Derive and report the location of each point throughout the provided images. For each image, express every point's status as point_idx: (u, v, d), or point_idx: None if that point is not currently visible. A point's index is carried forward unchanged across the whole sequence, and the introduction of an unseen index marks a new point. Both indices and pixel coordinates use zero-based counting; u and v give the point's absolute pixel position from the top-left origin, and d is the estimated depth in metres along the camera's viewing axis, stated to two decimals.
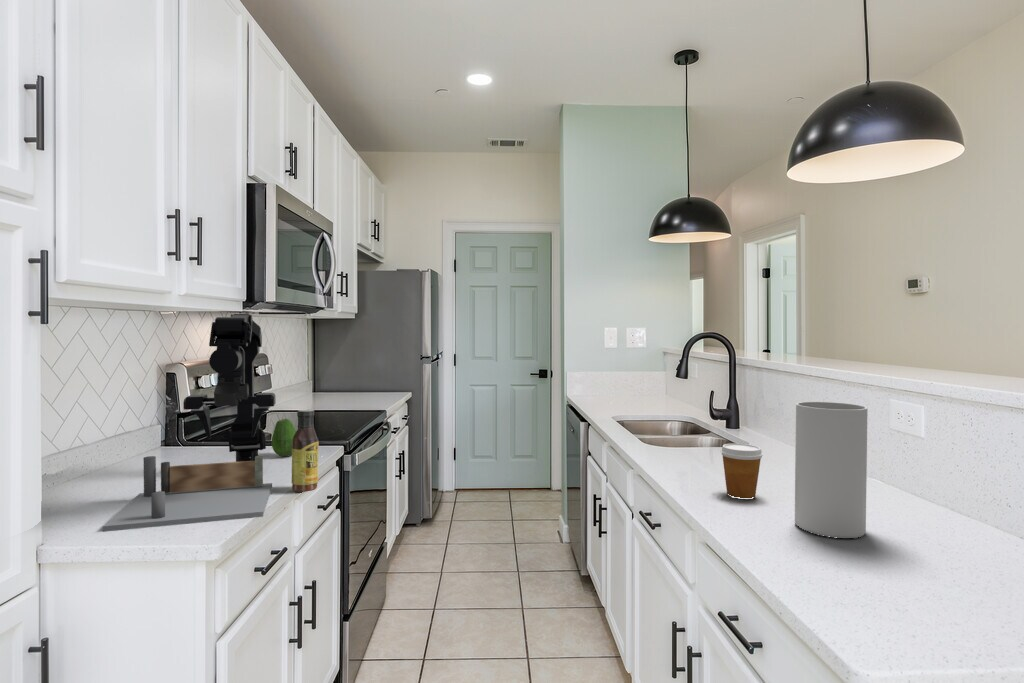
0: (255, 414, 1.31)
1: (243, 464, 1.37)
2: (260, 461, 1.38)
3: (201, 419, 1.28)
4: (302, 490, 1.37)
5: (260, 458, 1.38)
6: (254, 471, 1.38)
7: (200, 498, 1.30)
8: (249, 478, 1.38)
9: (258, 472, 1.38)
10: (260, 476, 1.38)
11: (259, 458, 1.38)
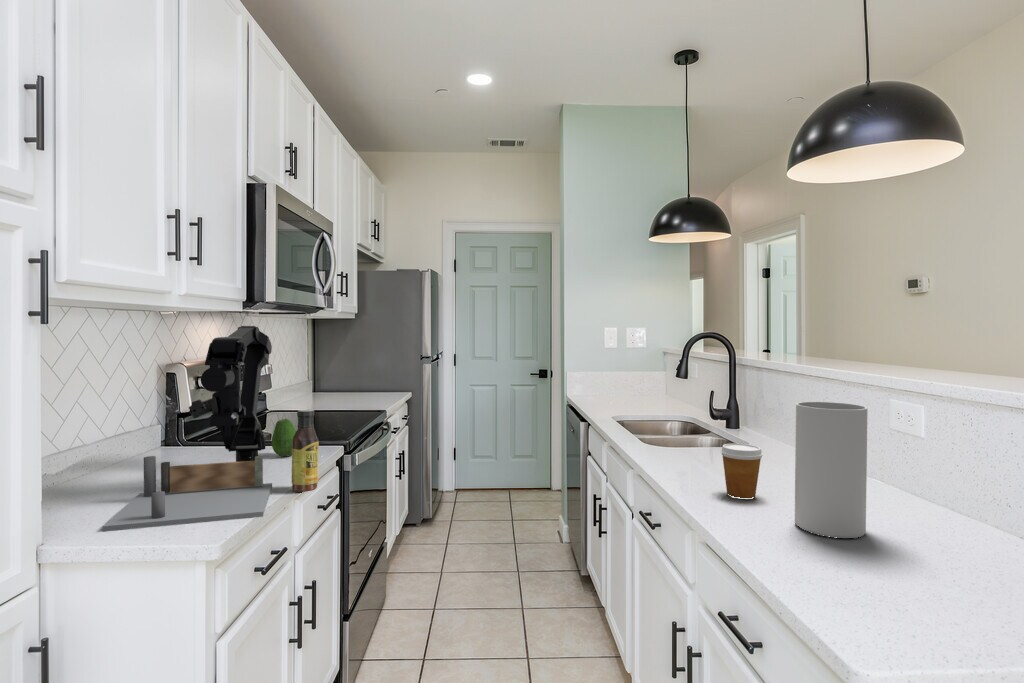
0: None
1: (243, 464, 1.37)
2: (260, 461, 1.38)
3: None
4: (302, 490, 1.37)
5: (260, 458, 1.38)
6: (254, 471, 1.38)
7: (200, 498, 1.30)
8: (249, 478, 1.38)
9: (258, 472, 1.38)
10: (260, 476, 1.38)
11: (259, 458, 1.38)
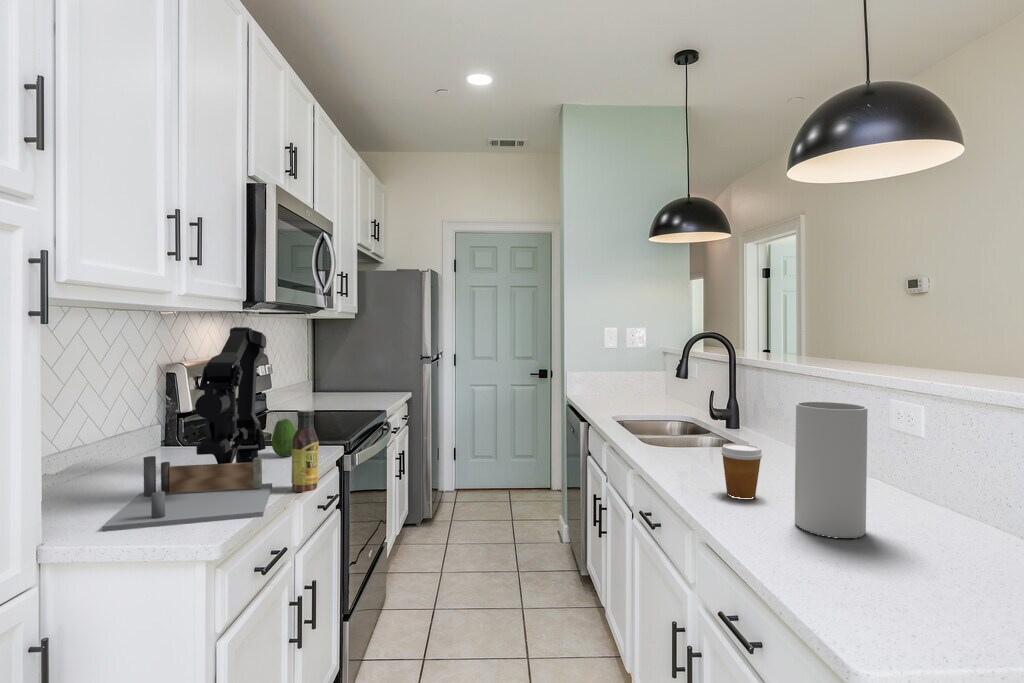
0: None
1: (242, 465, 1.36)
2: (258, 463, 1.36)
3: None
4: (302, 490, 1.37)
5: (258, 460, 1.36)
6: (252, 473, 1.36)
7: (200, 498, 1.30)
8: (248, 480, 1.36)
9: (256, 474, 1.36)
10: (258, 478, 1.36)
11: (258, 460, 1.36)
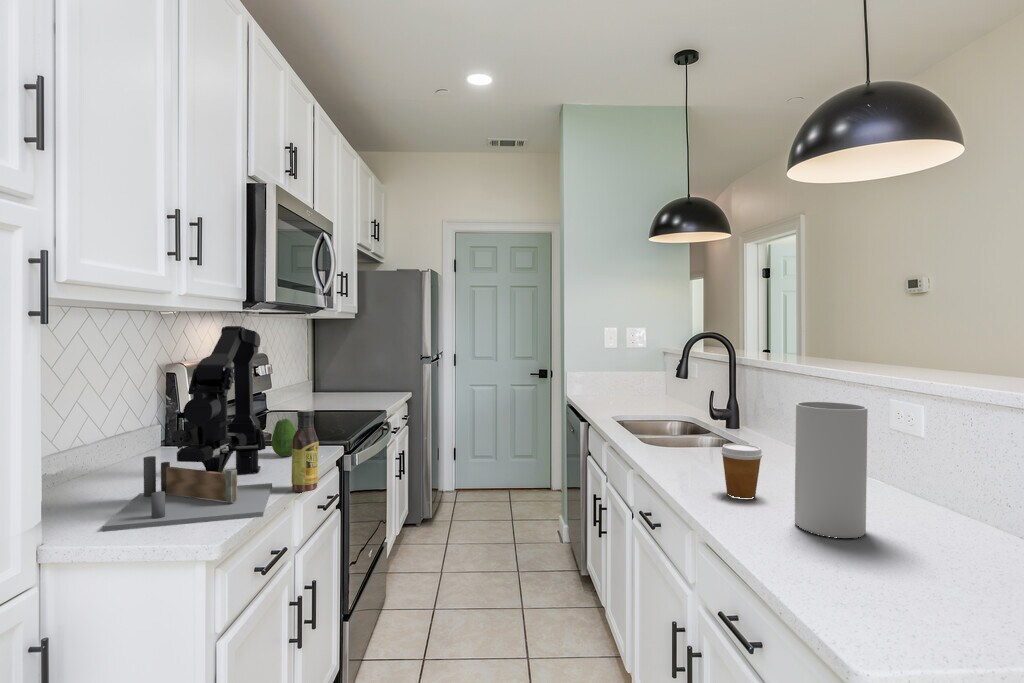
0: None
1: (217, 476, 1.26)
2: (229, 475, 1.25)
3: None
4: (302, 490, 1.37)
5: (229, 472, 1.25)
6: (225, 486, 1.25)
7: (200, 498, 1.30)
8: (222, 492, 1.26)
9: (228, 487, 1.25)
10: (229, 492, 1.25)
11: (229, 472, 1.25)
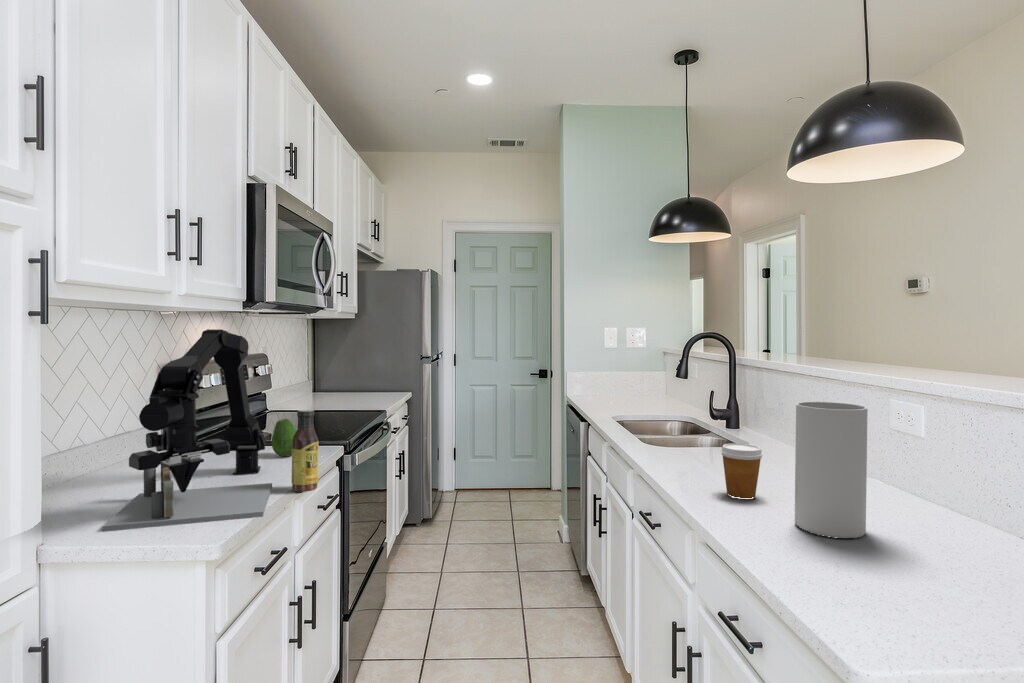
0: None
1: None
2: (164, 487, 1.15)
3: None
4: (302, 490, 1.37)
5: (164, 484, 1.15)
6: None
7: (200, 498, 1.30)
8: None
9: (164, 500, 1.15)
10: (164, 506, 1.15)
11: (164, 484, 1.15)
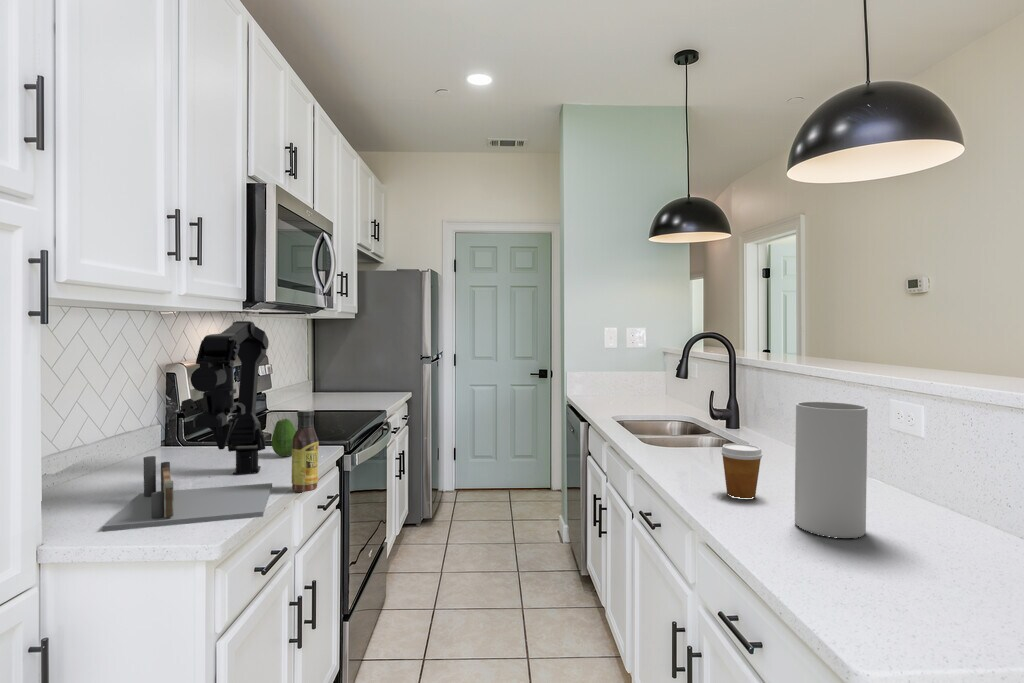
0: None
1: None
2: (164, 487, 1.15)
3: None
4: (302, 490, 1.37)
5: (164, 484, 1.15)
6: None
7: (200, 498, 1.30)
8: None
9: (164, 500, 1.15)
10: (164, 506, 1.15)
11: (164, 484, 1.15)
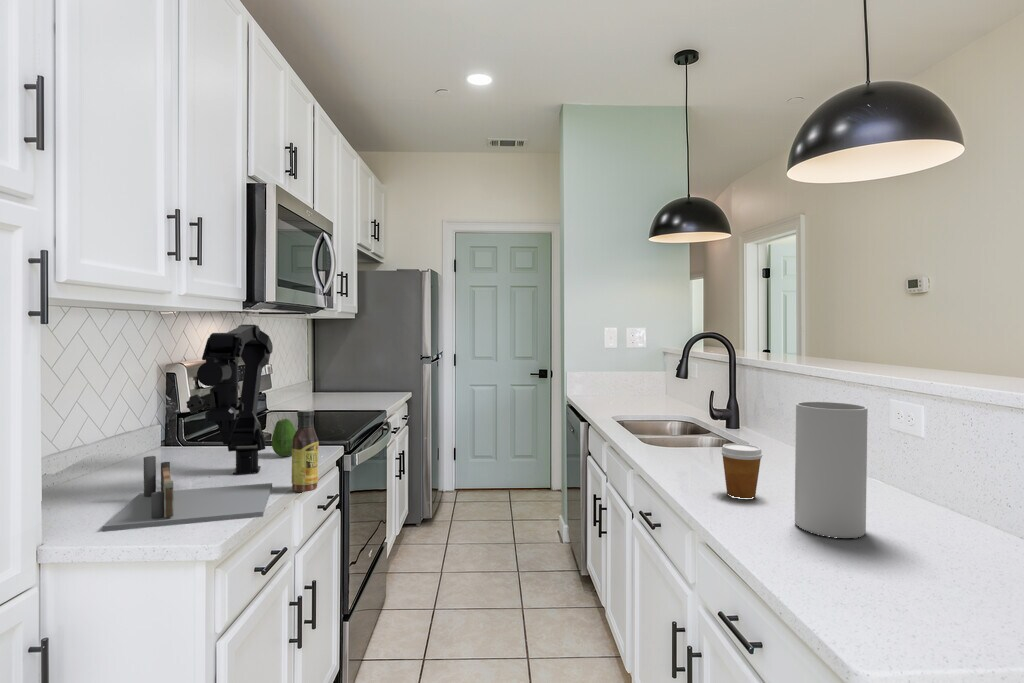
0: None
1: None
2: (164, 487, 1.15)
3: None
4: (302, 490, 1.37)
5: (164, 484, 1.15)
6: None
7: (200, 498, 1.30)
8: None
9: (164, 500, 1.15)
10: (164, 506, 1.15)
11: (164, 484, 1.15)
